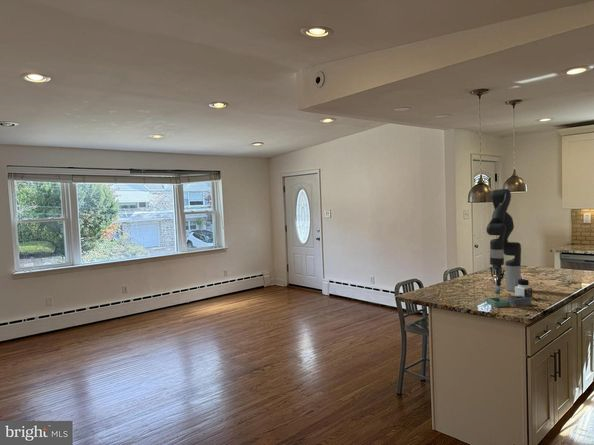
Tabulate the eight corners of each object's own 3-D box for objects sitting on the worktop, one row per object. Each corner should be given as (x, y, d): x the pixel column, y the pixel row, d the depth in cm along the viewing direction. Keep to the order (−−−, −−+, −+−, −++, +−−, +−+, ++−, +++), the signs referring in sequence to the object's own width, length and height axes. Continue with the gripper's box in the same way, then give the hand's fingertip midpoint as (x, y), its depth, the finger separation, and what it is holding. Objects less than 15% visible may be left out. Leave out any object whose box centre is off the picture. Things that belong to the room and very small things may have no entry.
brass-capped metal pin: (492, 292, 250) (491, 274, 250) (499, 292, 250) (499, 274, 250) (495, 294, 246) (495, 275, 245) (503, 294, 246) (502, 275, 245)
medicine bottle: (524, 299, 257) (524, 280, 257) (514, 297, 264) (514, 279, 263) (532, 298, 260) (532, 279, 260) (522, 296, 267) (522, 277, 266)
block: (508, 302, 253) (508, 295, 253) (522, 301, 253) (522, 295, 252) (515, 306, 244) (515, 299, 244) (531, 305, 244) (531, 298, 243)
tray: (486, 302, 254) (486, 297, 254) (499, 302, 254) (499, 297, 254) (495, 307, 242) (495, 302, 242) (509, 307, 242) (509, 302, 242)
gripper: (485, 255, 254) (485, 283, 255) (496, 258, 240) (496, 287, 241) (497, 255, 254) (498, 282, 255) (509, 258, 240) (509, 287, 241)
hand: (497, 285), depth 248 cm, fingers closed on brass-capped metal pin, 3 cm apart
